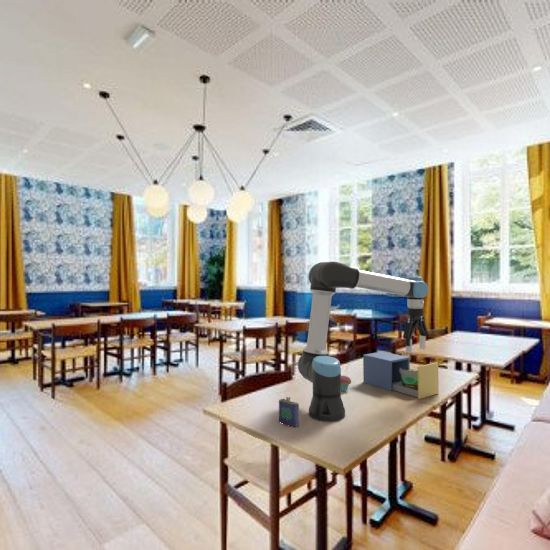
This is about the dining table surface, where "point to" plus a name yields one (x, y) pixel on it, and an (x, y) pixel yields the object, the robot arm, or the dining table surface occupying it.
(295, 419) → the flask
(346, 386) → the cupcake
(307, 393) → the dining table surface
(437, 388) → the tan boxy piece
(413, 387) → the food container
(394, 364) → the open box
